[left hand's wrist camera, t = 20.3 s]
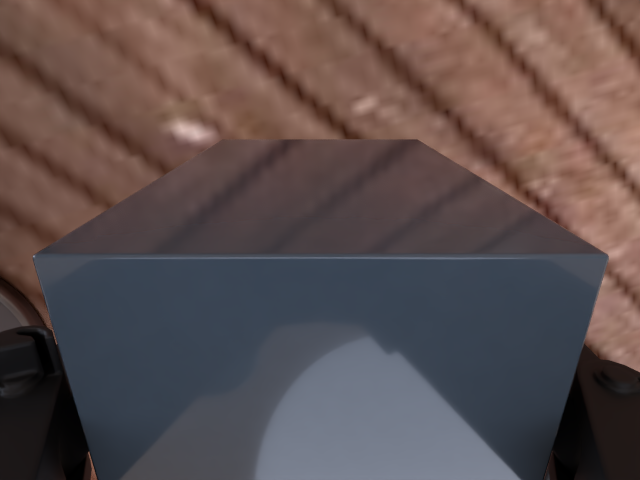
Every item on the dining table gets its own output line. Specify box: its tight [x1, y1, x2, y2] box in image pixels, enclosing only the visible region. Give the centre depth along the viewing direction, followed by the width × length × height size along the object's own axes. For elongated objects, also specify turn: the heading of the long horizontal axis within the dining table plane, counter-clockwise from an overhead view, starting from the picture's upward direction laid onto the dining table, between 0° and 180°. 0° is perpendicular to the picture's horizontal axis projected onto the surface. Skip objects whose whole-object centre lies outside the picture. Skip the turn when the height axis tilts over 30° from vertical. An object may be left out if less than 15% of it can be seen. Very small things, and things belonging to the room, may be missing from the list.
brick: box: [33, 140, 609, 480], centre depth 12 cm, size 8×8×11 cm
